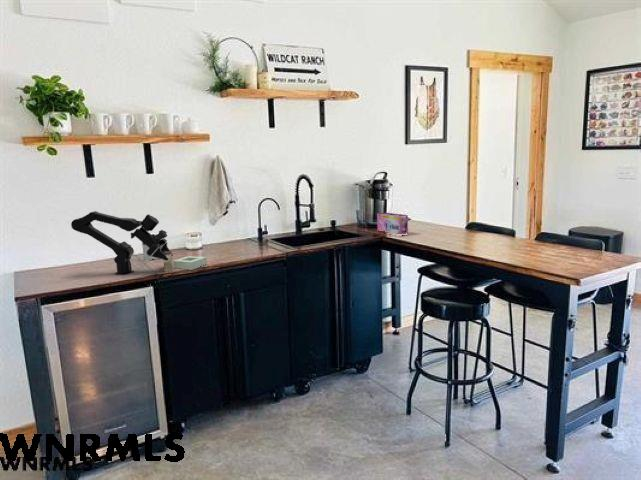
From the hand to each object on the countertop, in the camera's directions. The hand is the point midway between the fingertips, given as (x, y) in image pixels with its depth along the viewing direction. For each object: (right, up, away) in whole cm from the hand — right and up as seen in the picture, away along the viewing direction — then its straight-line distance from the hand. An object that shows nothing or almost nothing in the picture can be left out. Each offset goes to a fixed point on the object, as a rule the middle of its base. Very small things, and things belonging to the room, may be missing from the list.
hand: (170, 257), depth 249 cm
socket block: (+8, -5, +9) cm, 13 cm away
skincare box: (-20, -2, +31) cm, 37 cm away
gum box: (+125, +13, +82) cm, 151 cm away
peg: (-1, -7, +1) cm, 7 cm away
